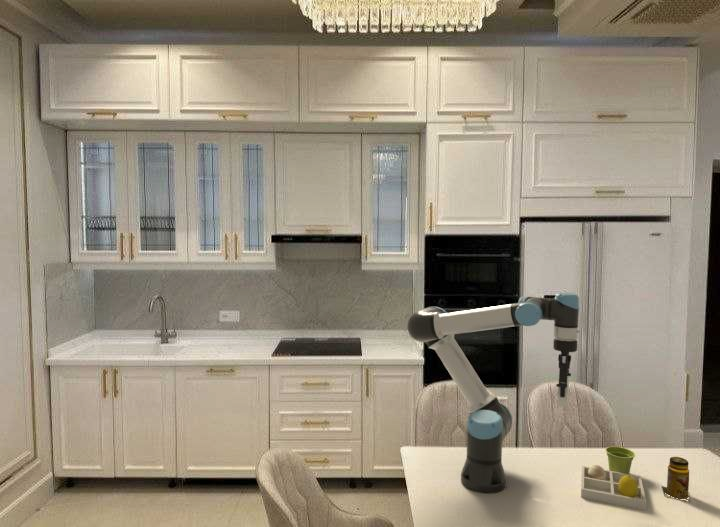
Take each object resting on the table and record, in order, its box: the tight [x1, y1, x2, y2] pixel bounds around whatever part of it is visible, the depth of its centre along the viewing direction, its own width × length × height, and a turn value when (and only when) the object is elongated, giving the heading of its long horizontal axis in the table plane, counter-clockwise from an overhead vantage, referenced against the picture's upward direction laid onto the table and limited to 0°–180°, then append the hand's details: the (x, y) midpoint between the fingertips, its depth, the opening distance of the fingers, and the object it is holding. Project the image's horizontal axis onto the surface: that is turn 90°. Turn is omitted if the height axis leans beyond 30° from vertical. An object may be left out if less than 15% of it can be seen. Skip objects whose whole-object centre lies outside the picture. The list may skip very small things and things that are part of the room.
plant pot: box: [604, 446, 636, 474], centre depth 184 cm, size 9×9×9 cm
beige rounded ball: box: [588, 464, 606, 480], centre depth 177 cm, size 6×6×6 cm
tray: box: [580, 465, 647, 511], centre depth 172 cm, size 18×18×4 cm
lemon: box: [618, 475, 638, 498], centre depth 165 cm, size 6×6×8 cm
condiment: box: [661, 456, 691, 503], centre depth 171 cm, size 7×8×12 cm
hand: (563, 400), depth 177 cm, fingers open, 13 cm apart
